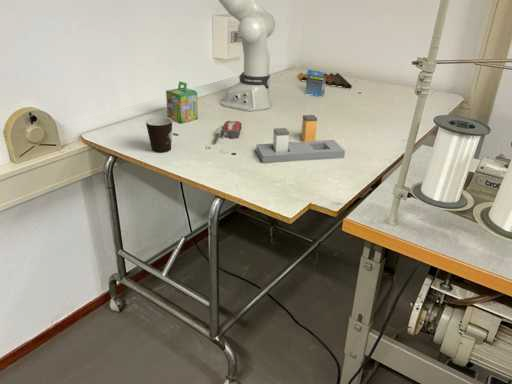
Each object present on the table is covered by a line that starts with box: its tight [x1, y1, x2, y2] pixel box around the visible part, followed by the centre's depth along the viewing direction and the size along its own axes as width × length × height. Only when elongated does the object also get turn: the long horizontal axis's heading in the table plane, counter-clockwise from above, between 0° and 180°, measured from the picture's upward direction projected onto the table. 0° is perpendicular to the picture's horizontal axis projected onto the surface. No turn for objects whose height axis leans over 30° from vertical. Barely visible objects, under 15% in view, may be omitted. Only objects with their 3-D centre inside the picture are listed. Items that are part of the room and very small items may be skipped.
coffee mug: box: [145, 116, 173, 154], centre depth 139 cm, size 12×9×10 cm
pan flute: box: [297, 71, 353, 89], centre depth 228 cm, size 25×3×25 cm
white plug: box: [272, 127, 290, 153], centre depth 136 cm, size 4×4×9 cm
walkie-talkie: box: [213, 120, 242, 144], centre depth 153 cm, size 9×4×20 cm
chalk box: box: [165, 81, 199, 124], centre depth 165 cm, size 9×9×15 cm
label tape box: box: [305, 69, 326, 97], centre depth 203 cm, size 9×4×12 cm, turn 58°
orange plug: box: [300, 114, 318, 142], centre depth 149 cm, size 4×4×9 cm
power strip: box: [255, 139, 346, 164], centre depth 139 cm, size 28×10×2 cm, turn 102°
